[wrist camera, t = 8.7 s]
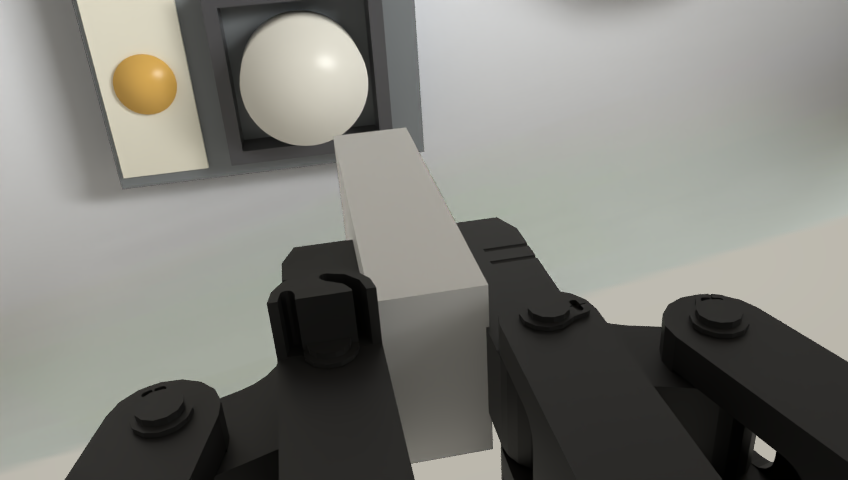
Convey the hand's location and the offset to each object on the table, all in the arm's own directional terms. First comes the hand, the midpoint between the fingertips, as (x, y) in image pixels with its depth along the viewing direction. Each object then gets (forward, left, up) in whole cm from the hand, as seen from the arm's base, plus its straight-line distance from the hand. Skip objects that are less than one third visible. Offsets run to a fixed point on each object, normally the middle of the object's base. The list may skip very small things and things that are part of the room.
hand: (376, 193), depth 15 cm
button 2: (+1, 0, -13) cm, 13 cm away
